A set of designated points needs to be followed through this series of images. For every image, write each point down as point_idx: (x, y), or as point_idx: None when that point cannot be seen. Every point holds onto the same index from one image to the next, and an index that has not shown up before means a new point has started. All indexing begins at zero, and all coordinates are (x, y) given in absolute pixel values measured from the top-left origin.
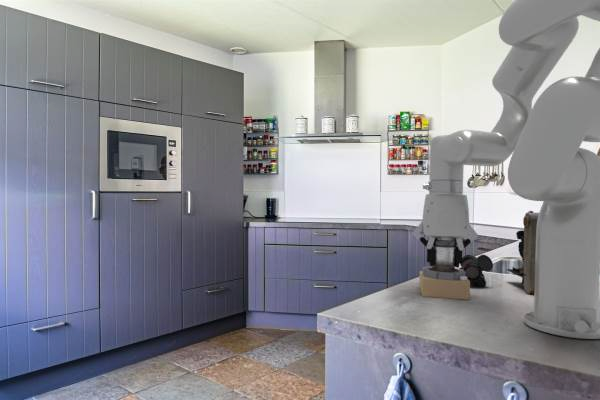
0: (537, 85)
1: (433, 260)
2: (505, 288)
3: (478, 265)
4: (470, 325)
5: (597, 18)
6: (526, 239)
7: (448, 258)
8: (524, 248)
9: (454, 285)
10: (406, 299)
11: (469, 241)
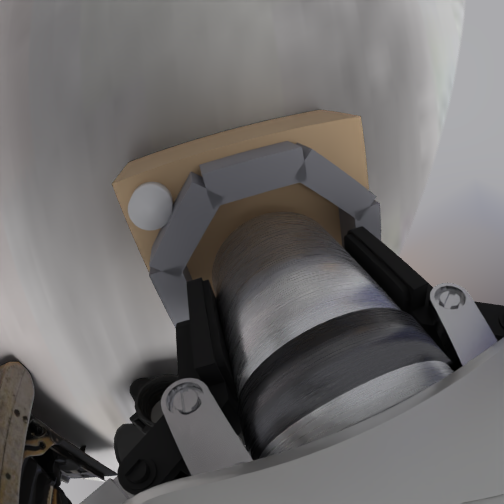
0: None
1: (364, 248)
2: (87, 396)
3: (147, 431)
4: None
5: None
6: None
7: (271, 269)
8: (16, 493)
9: (193, 149)
10: (366, 39)
11: (124, 472)
